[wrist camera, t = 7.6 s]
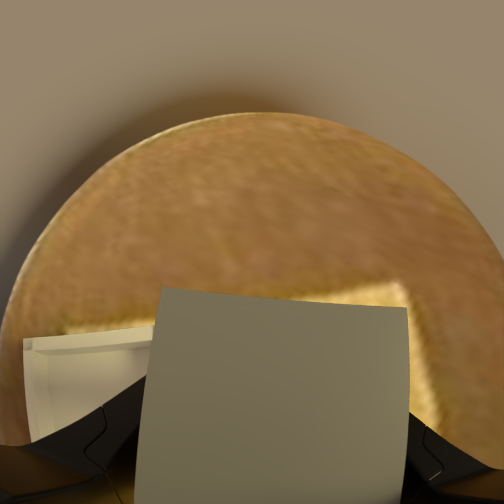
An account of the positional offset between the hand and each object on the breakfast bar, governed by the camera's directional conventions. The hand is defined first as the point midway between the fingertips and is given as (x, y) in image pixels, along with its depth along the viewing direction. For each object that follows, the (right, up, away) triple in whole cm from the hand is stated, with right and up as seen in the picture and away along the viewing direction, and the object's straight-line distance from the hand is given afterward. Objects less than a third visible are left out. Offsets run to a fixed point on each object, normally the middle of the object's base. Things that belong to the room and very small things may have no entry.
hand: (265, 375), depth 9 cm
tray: (-11, -9, +10) cm, 17 cm away
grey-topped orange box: (0, -4, +5) cm, 7 cm away
